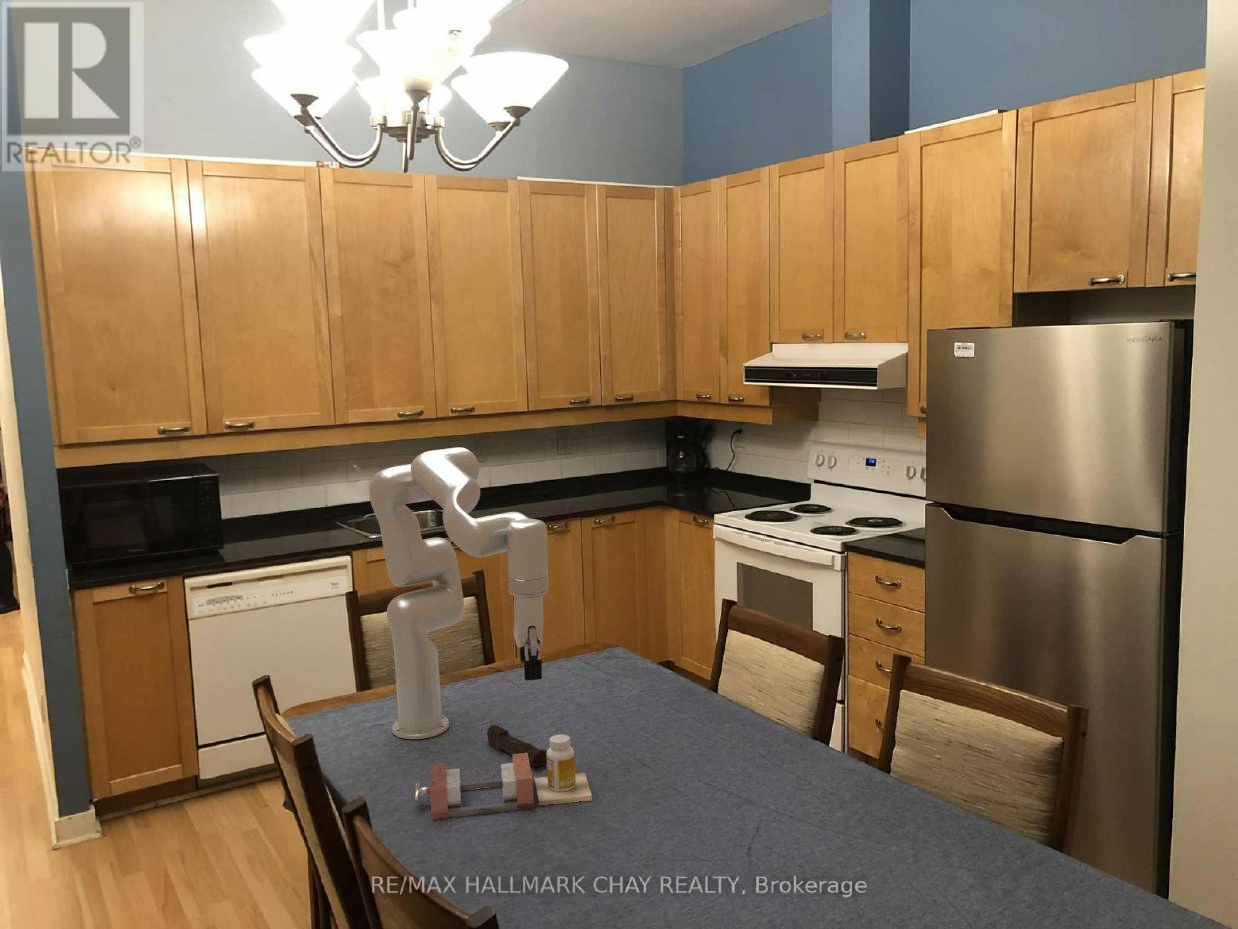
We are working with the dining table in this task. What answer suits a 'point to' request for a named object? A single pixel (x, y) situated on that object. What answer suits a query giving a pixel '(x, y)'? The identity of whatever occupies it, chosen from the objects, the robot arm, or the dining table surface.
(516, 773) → the vise
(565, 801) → the birch board
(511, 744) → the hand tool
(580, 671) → the dining table surface
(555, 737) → the supplement bottle
